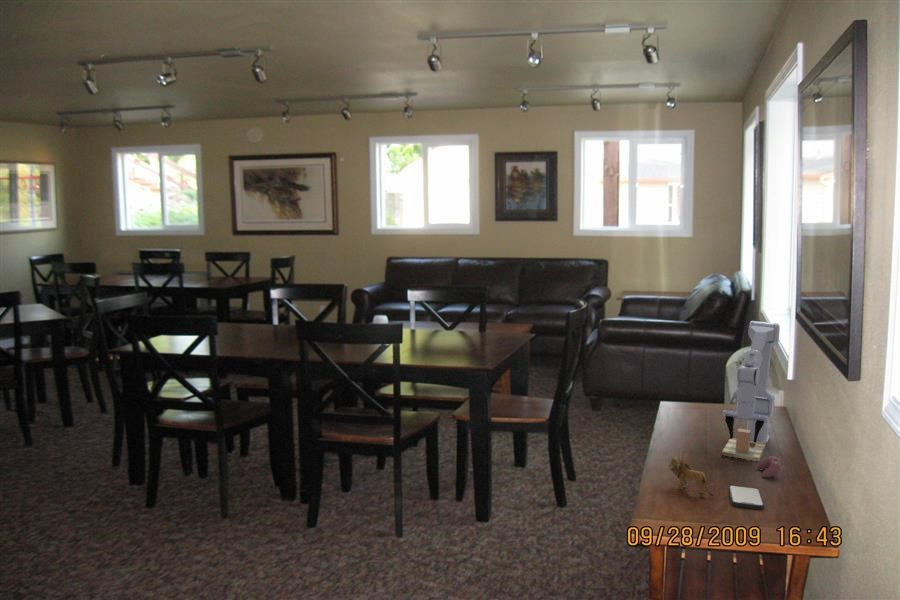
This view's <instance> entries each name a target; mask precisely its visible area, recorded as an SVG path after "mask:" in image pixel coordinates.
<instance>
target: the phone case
mask: <svg viewBox="0 0 900 600" xmlns="http://www.w3.org/2000/svg"><path fill="white" fill-rule="evenodd" d="M728 492H729V493H728V494H729V498H730V502H731V506H733V507H734V508H735V507H736V508H743V509H750V510H751V509H752V510H760V511H762V510H764V508H765V504H764V500H763V498H762V494H761V491H760V490H759V488H752V487H745V486H735V485H729V487H728Z"/></svg>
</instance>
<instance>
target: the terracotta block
mask: <svg viewBox="0 0 900 600" xmlns="http://www.w3.org/2000/svg"><path fill="white" fill-rule="evenodd" d="M750 435H751V430H747V428H745V429H744V428H738V429H737V430H736V451H739V452H745V453H748V452H749V448H750Z"/></svg>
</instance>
